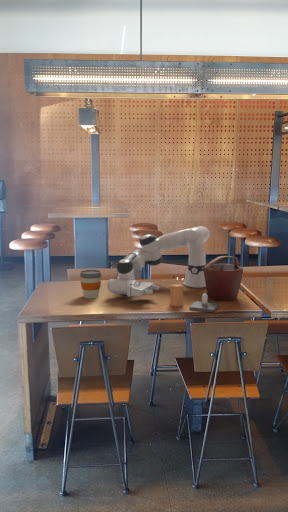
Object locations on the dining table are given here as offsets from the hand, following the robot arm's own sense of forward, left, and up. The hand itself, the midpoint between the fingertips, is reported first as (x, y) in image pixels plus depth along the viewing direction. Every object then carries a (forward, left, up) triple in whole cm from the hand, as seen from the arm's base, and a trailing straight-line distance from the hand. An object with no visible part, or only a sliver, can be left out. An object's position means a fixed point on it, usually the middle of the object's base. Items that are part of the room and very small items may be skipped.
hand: (155, 290), depth 255 cm
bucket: (-25, +33, -8) cm, 42 cm away
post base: (0, +28, -7) cm, 29 cm away
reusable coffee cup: (+2, -41, -8) cm, 41 cm away
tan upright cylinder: (0, +12, -7) cm, 14 cm away
